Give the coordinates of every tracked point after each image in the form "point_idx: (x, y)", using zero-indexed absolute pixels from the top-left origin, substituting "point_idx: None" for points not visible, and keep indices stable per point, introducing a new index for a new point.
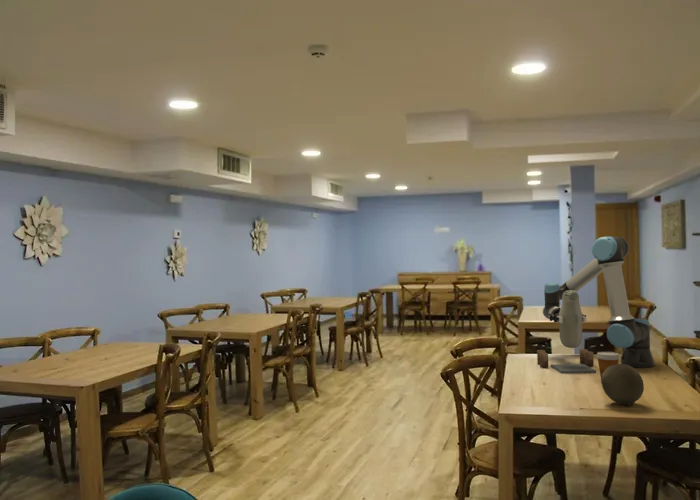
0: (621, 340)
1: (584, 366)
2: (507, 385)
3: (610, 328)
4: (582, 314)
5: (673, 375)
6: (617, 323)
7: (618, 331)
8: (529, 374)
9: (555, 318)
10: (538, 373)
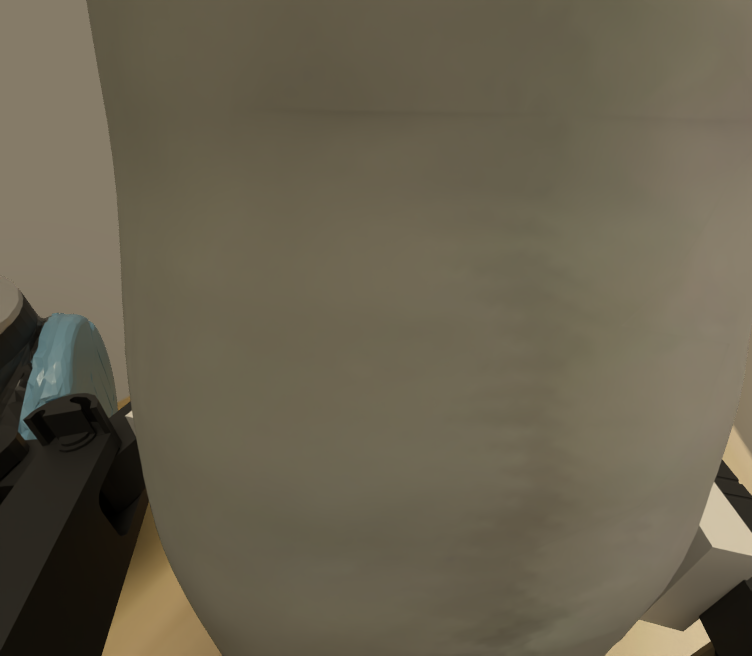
0: (110, 408)
1: None
2: (743, 448)
3: (74, 384)
4: (89, 398)
5: (121, 406)
6: (37, 324)
7: (92, 365)
8: (705, 634)
9: (741, 513)
10: (644, 645)
